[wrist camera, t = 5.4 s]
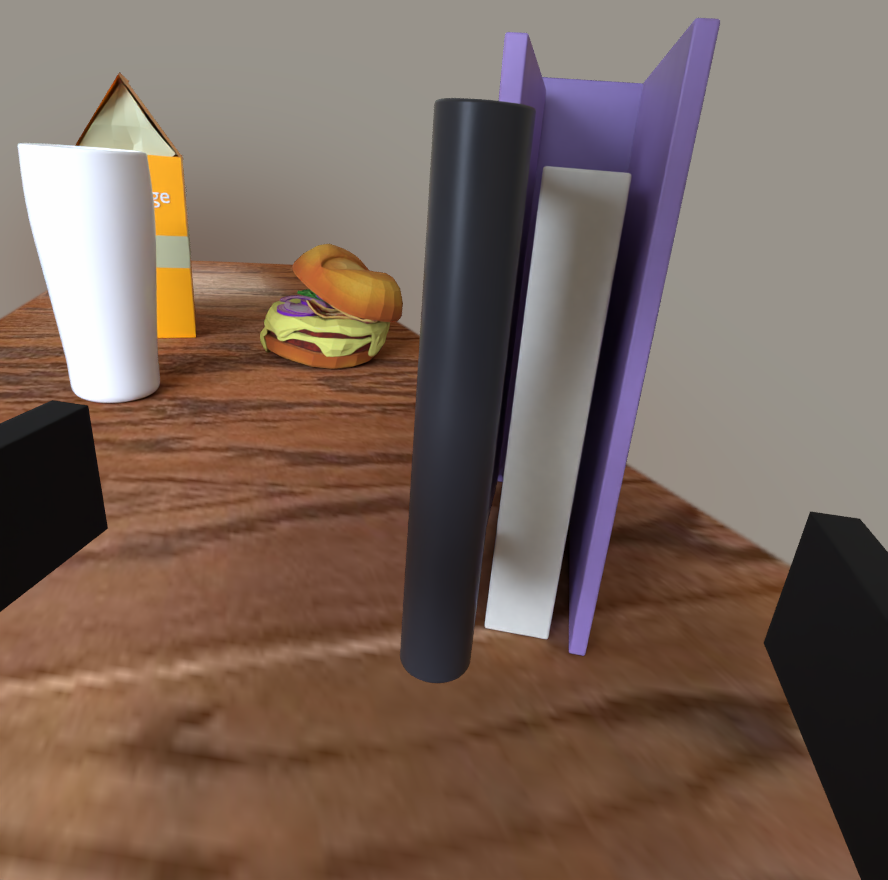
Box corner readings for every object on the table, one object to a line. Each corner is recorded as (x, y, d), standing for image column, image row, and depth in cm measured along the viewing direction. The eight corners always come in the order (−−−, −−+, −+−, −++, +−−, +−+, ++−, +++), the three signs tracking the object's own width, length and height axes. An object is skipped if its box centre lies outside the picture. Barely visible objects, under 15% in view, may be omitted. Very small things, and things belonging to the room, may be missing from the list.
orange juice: (196, 314, 63) (178, 86, 55) (197, 337, 56) (176, 78, 48) (109, 314, 61) (76, 75, 53) (97, 339, 53) (57, 65, 45)
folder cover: (510, 481, 34) (563, 89, 27) (456, 757, 18) (549, -33, 11) (474, 475, 34) (515, 86, 27) (388, 742, 18) (432, -37, 11)
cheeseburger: (272, 333, 58) (297, 225, 55) (384, 368, 60) (416, 265, 56) (241, 364, 49) (269, 236, 45) (374, 405, 50) (412, 284, 47)
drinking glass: (40, 408, 39) (-11, 141, 33) (85, 374, 45) (49, 143, 39) (154, 412, 40) (125, 152, 34) (184, 378, 46) (163, 152, 40)
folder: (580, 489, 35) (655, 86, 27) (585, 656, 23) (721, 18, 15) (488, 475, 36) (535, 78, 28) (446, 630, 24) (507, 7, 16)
